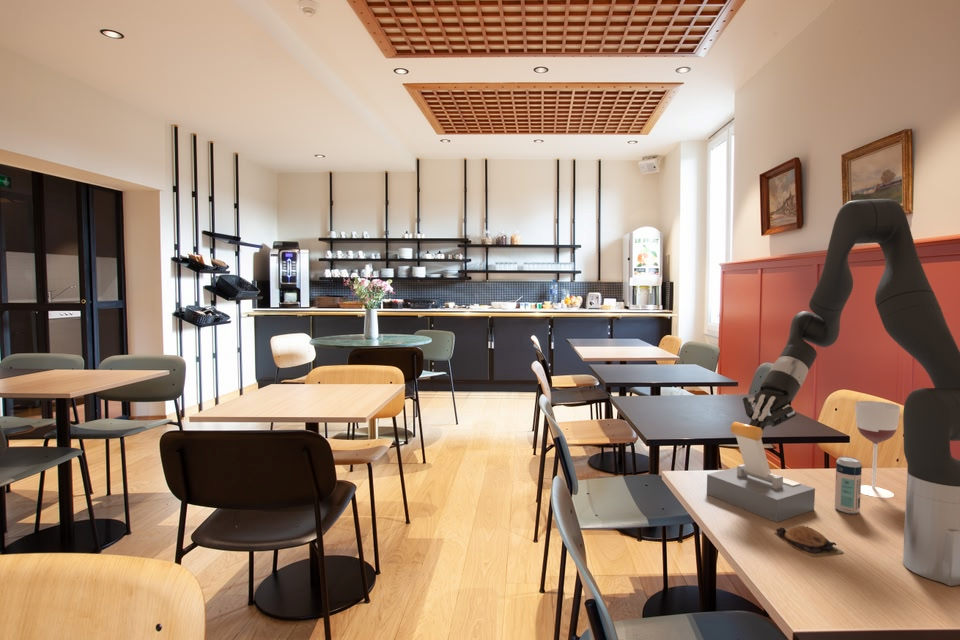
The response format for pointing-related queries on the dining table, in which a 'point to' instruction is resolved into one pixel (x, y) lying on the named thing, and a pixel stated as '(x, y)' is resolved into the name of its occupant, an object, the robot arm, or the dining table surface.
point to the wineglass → (876, 434)
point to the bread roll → (808, 541)
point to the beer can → (848, 485)
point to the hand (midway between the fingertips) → (751, 435)
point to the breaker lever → (752, 451)
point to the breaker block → (761, 493)
